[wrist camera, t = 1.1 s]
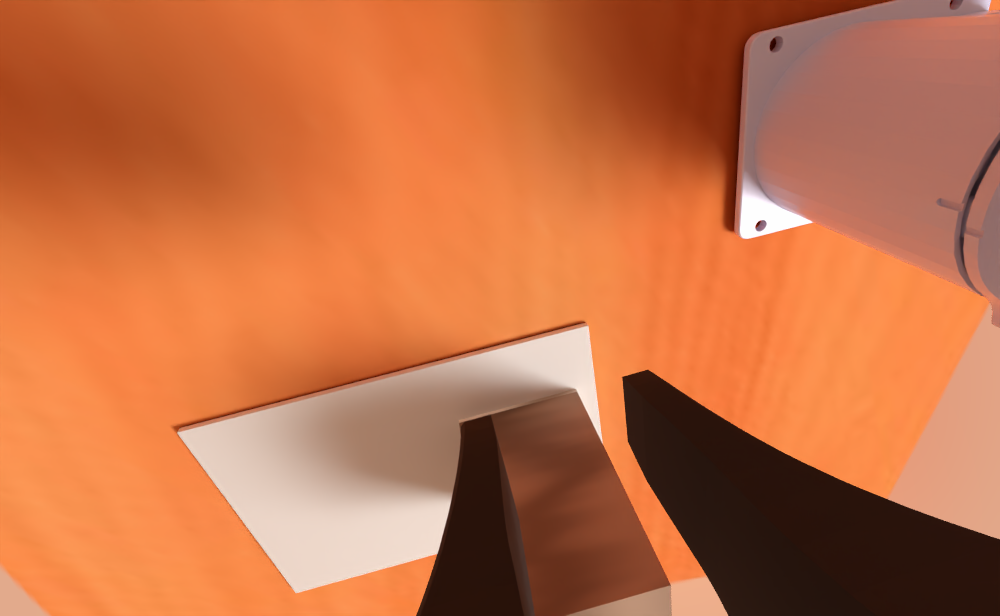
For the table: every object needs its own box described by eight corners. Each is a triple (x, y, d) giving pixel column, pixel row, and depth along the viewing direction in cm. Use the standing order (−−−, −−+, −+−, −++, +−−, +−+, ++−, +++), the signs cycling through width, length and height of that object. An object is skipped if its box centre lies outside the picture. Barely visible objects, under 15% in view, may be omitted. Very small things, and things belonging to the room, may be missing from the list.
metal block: (576, 388, 24) (670, 585, 15) (588, 470, 27) (673, 673, 18) (458, 420, 24) (487, 638, 15) (484, 499, 27) (520, 718, 18)
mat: (586, 322, 22) (588, 325, 22) (608, 501, 29) (610, 505, 29) (179, 428, 21) (176, 432, 21) (297, 588, 28) (295, 593, 28)
